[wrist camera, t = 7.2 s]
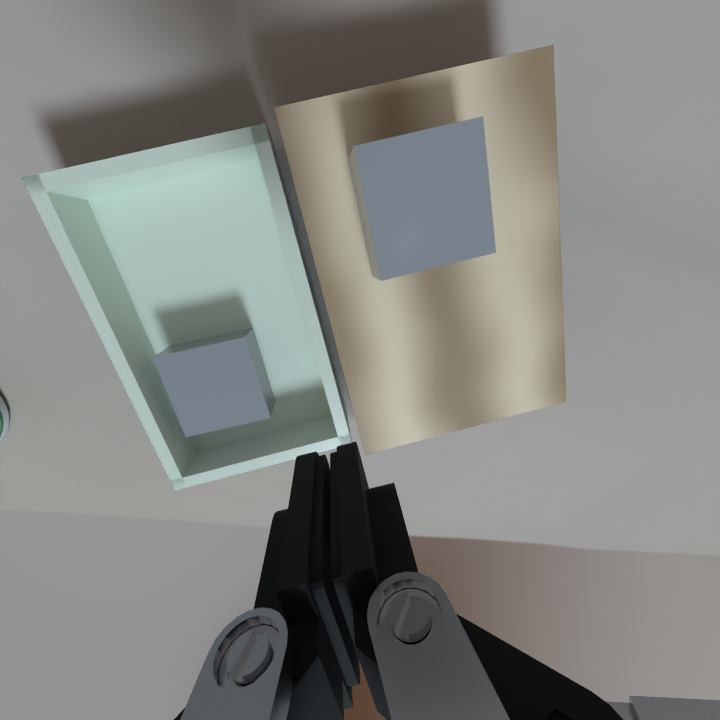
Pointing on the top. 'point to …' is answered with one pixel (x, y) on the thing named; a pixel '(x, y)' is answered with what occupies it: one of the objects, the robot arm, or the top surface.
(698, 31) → the top surface
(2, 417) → the supplement bottle
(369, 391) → the board
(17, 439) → the top surface
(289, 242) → the tray
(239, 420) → the tile
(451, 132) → the tile
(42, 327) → the top surface
